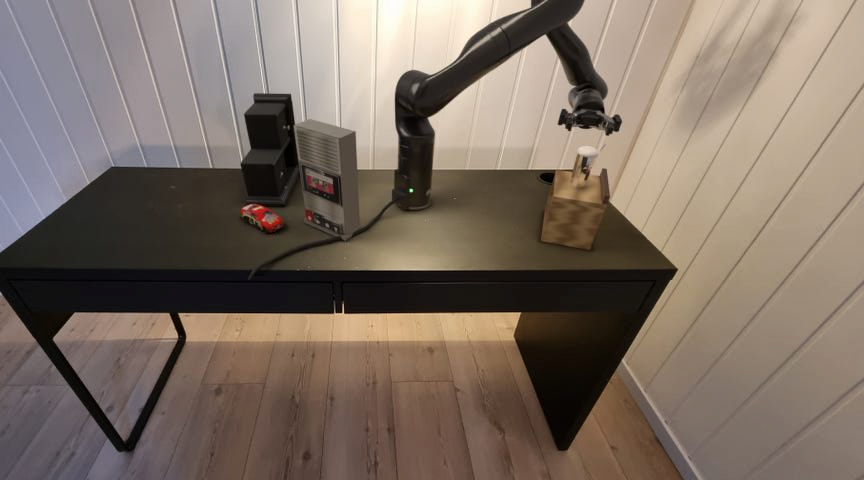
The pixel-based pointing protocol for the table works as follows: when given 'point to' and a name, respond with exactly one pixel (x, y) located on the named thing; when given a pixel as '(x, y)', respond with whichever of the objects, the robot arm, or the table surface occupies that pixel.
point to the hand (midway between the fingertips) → (589, 129)
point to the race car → (262, 218)
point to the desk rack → (575, 210)
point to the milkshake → (583, 165)
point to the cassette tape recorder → (329, 177)
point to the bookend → (270, 150)
